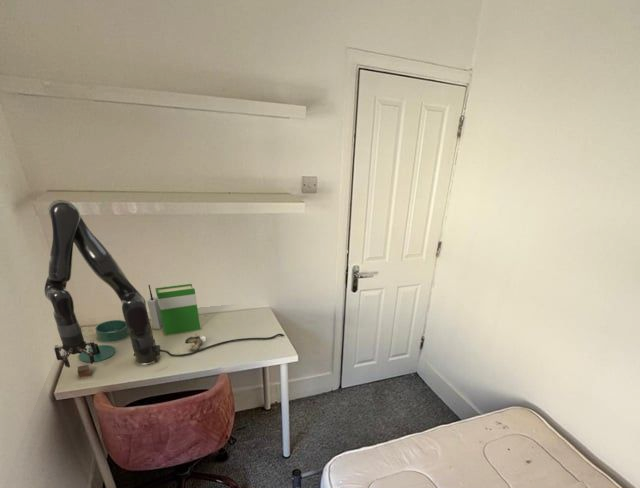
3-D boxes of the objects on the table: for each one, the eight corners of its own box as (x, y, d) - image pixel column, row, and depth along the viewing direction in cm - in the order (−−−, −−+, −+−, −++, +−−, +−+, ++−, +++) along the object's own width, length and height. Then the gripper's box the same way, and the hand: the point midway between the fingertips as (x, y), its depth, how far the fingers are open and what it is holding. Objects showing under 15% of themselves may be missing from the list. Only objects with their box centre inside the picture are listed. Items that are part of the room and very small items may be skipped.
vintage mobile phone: (163, 325, 215) (155, 282, 202) (160, 329, 211) (151, 286, 198) (157, 324, 215) (147, 282, 202) (153, 329, 211) (143, 286, 198)
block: (90, 372, 174) (88, 364, 172) (91, 376, 171) (88, 369, 169) (80, 374, 172) (77, 366, 170) (80, 378, 169) (77, 371, 167)
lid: (117, 345, 194) (114, 335, 191) (113, 361, 182) (110, 351, 179) (83, 349, 189) (79, 338, 186) (76, 365, 177) (72, 354, 174)
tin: (131, 328, 210) (129, 319, 207) (128, 340, 198) (125, 331, 196) (101, 330, 205) (98, 321, 202) (96, 343, 194) (93, 334, 191)
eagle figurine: (191, 339, 202) (181, 344, 194) (198, 329, 200) (188, 334, 192) (203, 348, 203) (193, 354, 195) (210, 339, 201) (200, 344, 192)
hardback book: (197, 323, 220) (191, 283, 207) (200, 329, 215) (194, 288, 202) (163, 329, 211) (155, 288, 199) (165, 335, 206) (157, 293, 194)
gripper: (48, 339, 154) (60, 372, 163) (90, 333, 161) (100, 365, 169) (49, 330, 160) (61, 363, 168) (90, 325, 166) (100, 357, 175)
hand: (80, 364), depth 169 cm, fingers open, 8 cm apart
